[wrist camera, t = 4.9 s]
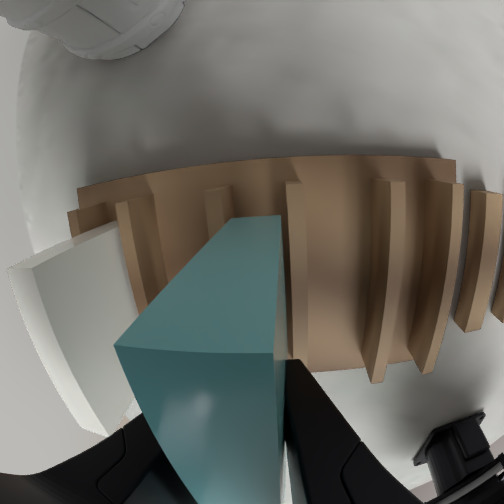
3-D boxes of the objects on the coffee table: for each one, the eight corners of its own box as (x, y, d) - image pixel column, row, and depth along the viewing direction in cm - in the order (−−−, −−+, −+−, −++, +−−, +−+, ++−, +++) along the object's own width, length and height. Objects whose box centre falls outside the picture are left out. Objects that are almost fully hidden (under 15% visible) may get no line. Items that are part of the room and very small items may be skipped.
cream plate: (167, 343, 15) (110, 438, 8) (142, 341, 15) (81, 427, 8) (139, 217, 13) (32, 268, 6) (113, 220, 13) (6, 268, 6)
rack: (423, 345, 14) (446, 381, 11) (130, 353, 17) (105, 387, 13) (443, 159, 11) (484, 161, 8) (89, 186, 14) (46, 194, 10)
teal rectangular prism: (288, 382, 11) (281, 537, 4) (250, 383, 11) (222, 533, 4) (280, 214, 9) (273, 352, 2) (231, 218, 9) (112, 343, 2)
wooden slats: (503, 309, 13) (514, 319, 12) (453, 320, 14) (464, 332, 12) (520, 193, 11) (535, 197, 9) (470, 189, 11) (486, 193, 10)
